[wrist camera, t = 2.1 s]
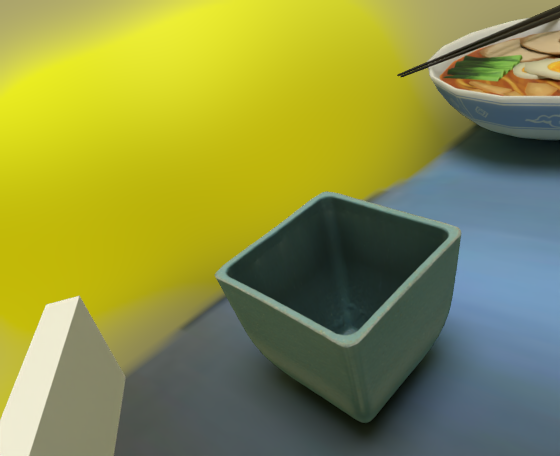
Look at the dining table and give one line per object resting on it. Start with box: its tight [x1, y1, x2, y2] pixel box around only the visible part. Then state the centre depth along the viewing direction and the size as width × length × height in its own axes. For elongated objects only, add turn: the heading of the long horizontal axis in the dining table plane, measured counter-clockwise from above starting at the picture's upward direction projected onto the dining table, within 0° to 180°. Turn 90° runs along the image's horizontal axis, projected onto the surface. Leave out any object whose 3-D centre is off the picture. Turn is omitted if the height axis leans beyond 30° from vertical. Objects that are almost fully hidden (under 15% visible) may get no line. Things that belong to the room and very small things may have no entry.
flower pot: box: [215, 192, 461, 423], centre depth 26 cm, size 9×9×9 cm
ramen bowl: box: [397, 5, 560, 140], centre depth 45 cm, size 25×23×8 cm
